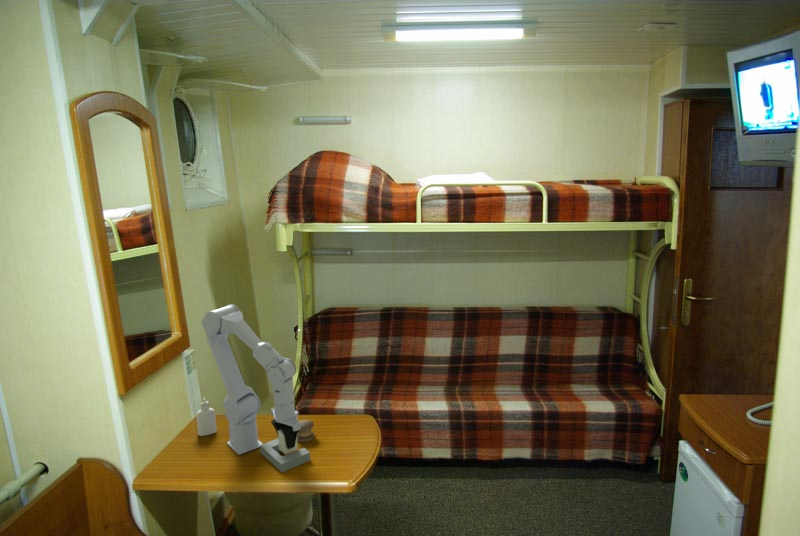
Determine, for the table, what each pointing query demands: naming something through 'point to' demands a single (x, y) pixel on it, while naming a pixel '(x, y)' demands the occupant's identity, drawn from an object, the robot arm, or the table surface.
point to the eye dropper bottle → (206, 419)
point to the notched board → (286, 461)
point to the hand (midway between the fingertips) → (287, 444)
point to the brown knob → (305, 431)
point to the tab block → (283, 444)
